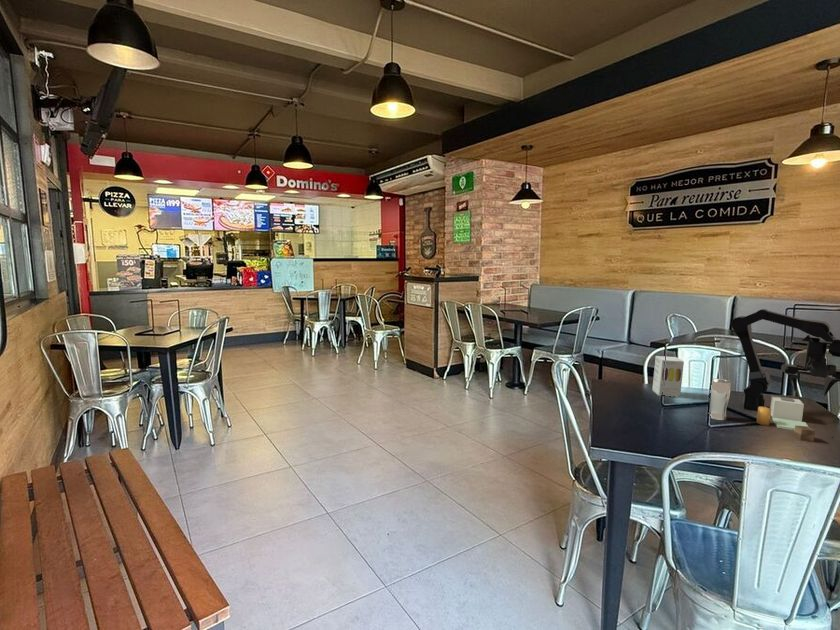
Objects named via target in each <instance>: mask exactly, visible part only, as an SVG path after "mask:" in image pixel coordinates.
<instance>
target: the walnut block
mask: <svg viewBox="0 0 840 630" xmlns="http://www.w3.org/2000/svg"><path fill="white" fill-rule="evenodd" d="M793 431H794V432H793V437H795V438H796V439H798V441H801V442H802V441H803V442H804V441H805V442H812V443H813V442H814V441H815V432H816V430H814V428H812V427H810V426H809V427H807V426H796V425H795V430H793Z"/></svg>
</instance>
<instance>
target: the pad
mask: <svg viewBox="0 0 840 630" xmlns="http://www.w3.org/2000/svg"><path fill="white" fill-rule="evenodd" d="M771 420H772V422H773V423H774V424H775V426H776V428H777V429H783V430H789V431H794V430H795V425H796V426H807V427H810V426H809V425H808V424H807V422H805V421H802V422H800V421H793V420H786V419H780V418H773V417H772V419H771Z"/></svg>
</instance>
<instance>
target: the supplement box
mask: <svg viewBox="0 0 840 630" xmlns="http://www.w3.org/2000/svg"><path fill="white" fill-rule="evenodd" d="M665 356H666V355H665ZM665 356H664V355H663V356H662V355H655V361H654V370H653V380H652V392H653V393H655V394H656V395H657V396H659V397H662V396H661V395H662V392H663V390H664V395H665V396H664V397H669V396H671V398H672V397H673V396H678V397H677V398H681V392H682V391H681V390H682V383H683V374H684V373H683V372H684V365H685V364H684V363H685V362H684V360H682V359H681V358H679V357H677V356H666V373H665V386H664V385H663V377H664V362H665ZM663 386H664V387H663ZM673 398H674V397H673Z"/></svg>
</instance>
